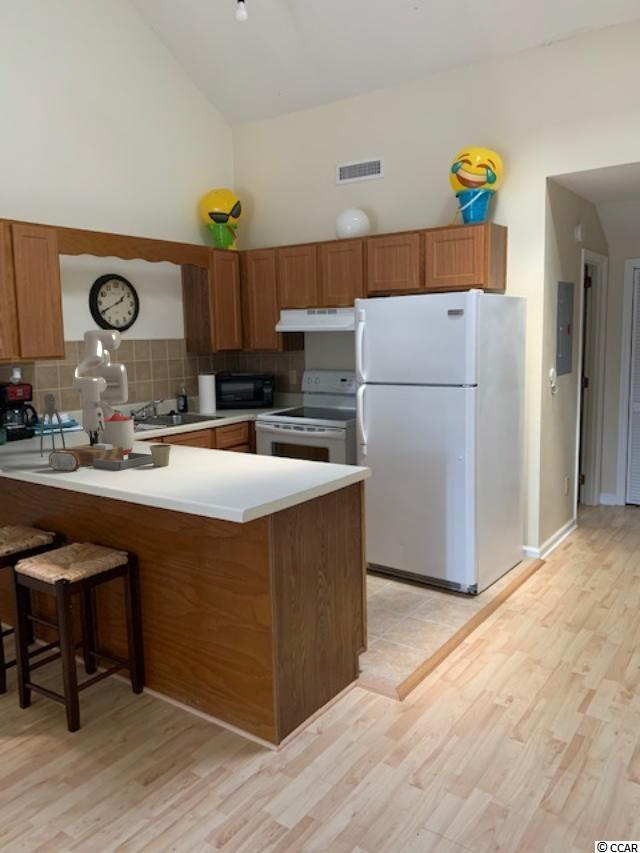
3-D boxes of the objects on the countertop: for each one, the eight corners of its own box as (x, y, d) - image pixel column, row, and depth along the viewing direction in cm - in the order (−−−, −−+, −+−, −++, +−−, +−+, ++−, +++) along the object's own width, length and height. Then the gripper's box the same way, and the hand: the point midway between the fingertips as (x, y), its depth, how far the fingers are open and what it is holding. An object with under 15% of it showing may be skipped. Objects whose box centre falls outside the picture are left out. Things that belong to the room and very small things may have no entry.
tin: (82, 470, 280) (81, 450, 279) (77, 472, 277) (76, 452, 276) (53, 469, 285) (51, 449, 284) (48, 470, 282) (46, 450, 281)
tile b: (106, 448, 299) (106, 443, 299) (112, 448, 297) (112, 444, 297) (99, 449, 296) (99, 445, 296) (105, 450, 294) (105, 445, 293)
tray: (129, 459, 303) (129, 452, 303) (155, 462, 294) (155, 454, 294) (93, 467, 287) (92, 459, 286) (120, 470, 278) (119, 462, 277)
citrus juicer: (143, 453, 320) (141, 412, 317) (107, 457, 310) (104, 415, 307) (133, 449, 332) (130, 409, 330) (97, 453, 323) (95, 412, 320)
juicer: (66, 455, 320) (61, 392, 316) (54, 459, 309) (50, 394, 306) (46, 455, 321) (42, 392, 317) (34, 459, 310) (29, 394, 306)
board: (91, 456, 314) (91, 443, 314) (123, 460, 303) (122, 447, 302) (62, 462, 301) (61, 448, 300) (94, 466, 289) (93, 452, 289)
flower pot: (176, 464, 289) (176, 444, 288) (163, 468, 281) (162, 448, 280) (159, 463, 293) (158, 443, 292) (145, 467, 285) (144, 447, 284)
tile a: (100, 447, 301) (100, 443, 301) (106, 448, 299) (106, 443, 299) (93, 449, 298) (93, 444, 298) (99, 449, 296) (99, 445, 295)
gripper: (109, 405, 297) (112, 446, 299) (87, 404, 305) (90, 443, 307) (95, 407, 291) (98, 448, 293) (73, 405, 299) (76, 446, 301)
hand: (94, 446), depth 300 cm, fingers closed
